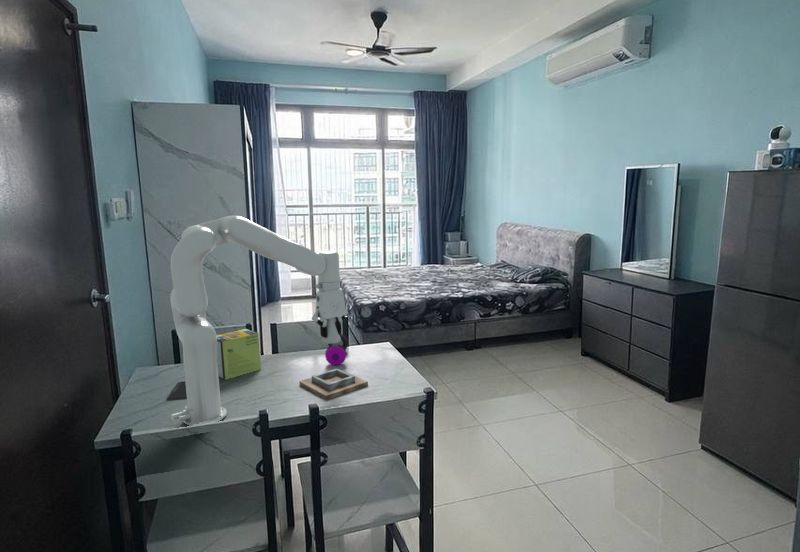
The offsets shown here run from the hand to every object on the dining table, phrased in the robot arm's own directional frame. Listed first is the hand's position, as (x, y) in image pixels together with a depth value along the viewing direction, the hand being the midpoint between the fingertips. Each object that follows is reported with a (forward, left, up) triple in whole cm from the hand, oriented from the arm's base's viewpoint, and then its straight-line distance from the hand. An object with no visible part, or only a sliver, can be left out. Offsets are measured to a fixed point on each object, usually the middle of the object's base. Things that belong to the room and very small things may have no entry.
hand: (331, 334), depth 166 cm
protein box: (-20, +39, -20) cm, 48 cm away
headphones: (+18, +24, -20) cm, 36 cm away
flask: (0, 0, -3) cm, 3 cm away
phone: (-42, +34, -20) cm, 57 cm away
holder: (0, 0, -19) cm, 19 cm away
